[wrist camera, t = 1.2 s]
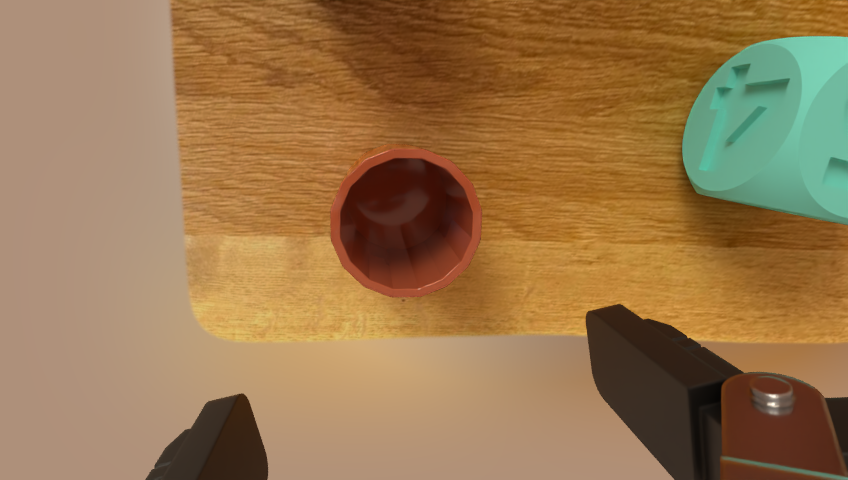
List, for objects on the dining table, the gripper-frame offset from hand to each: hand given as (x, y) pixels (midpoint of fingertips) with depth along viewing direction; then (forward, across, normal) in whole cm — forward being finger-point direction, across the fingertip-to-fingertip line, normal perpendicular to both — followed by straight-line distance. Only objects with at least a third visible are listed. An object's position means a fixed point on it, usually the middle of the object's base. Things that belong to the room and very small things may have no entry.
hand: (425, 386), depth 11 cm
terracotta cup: (+18, -1, -2) cm, 18 cm away
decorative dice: (+18, -22, -1) cm, 29 cm away
